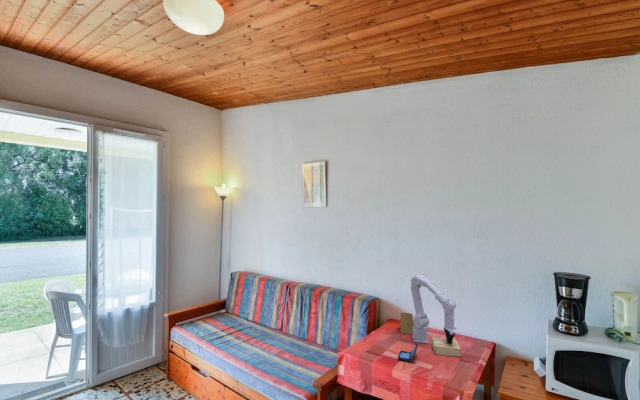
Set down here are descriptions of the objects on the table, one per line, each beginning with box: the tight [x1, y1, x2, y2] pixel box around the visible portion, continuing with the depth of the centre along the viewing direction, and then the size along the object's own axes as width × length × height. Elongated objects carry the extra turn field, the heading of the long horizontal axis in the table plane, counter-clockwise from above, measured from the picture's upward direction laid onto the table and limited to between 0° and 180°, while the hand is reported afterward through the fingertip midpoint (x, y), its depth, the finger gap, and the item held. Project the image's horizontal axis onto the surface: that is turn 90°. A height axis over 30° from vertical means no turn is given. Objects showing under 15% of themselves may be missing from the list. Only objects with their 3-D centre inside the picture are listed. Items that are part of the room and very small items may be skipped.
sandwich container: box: [399, 311, 416, 336], centre depth 237 cm, size 9×15×15 cm, turn 154°
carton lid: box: [431, 336, 462, 351], centre depth 202 cm, size 15×14×4 cm
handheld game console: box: [397, 343, 419, 364], centre depth 193 cm, size 12×11×7 cm
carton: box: [431, 339, 462, 358], centre depth 202 cm, size 15×14×4 cm
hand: (449, 341), depth 202 cm, fingers open, 4 cm apart
